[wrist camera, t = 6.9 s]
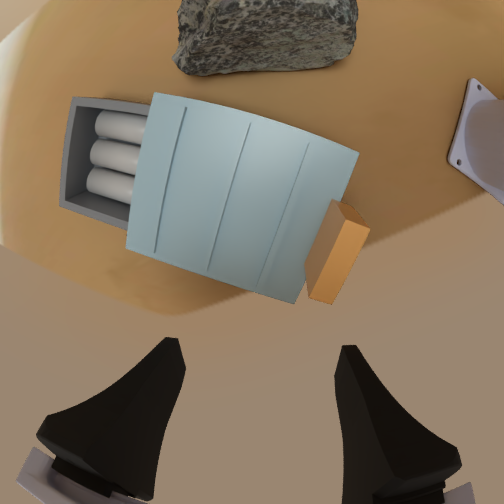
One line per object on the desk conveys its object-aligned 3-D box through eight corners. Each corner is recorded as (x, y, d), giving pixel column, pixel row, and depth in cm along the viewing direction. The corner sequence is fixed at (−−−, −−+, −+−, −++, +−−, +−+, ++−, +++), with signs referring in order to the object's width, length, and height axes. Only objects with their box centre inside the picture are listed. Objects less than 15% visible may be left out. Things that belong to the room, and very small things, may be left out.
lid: (365, 156, 13) (396, 167, 10) (303, 298, 18) (307, 345, 14) (161, 94, 13) (121, 85, 9) (132, 242, 17) (97, 274, 13)
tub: (224, 120, 17) (209, 117, 13) (195, 225, 20) (177, 247, 17) (104, 98, 17) (72, 96, 13) (89, 192, 20) (59, 206, 16)
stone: (244, 56, 7) (307, -107, 2) (134, 68, 12) (182, -54, 8) (365, 120, 13) (396, -7, 9) (249, 93, 19) (280, -7, 15)
